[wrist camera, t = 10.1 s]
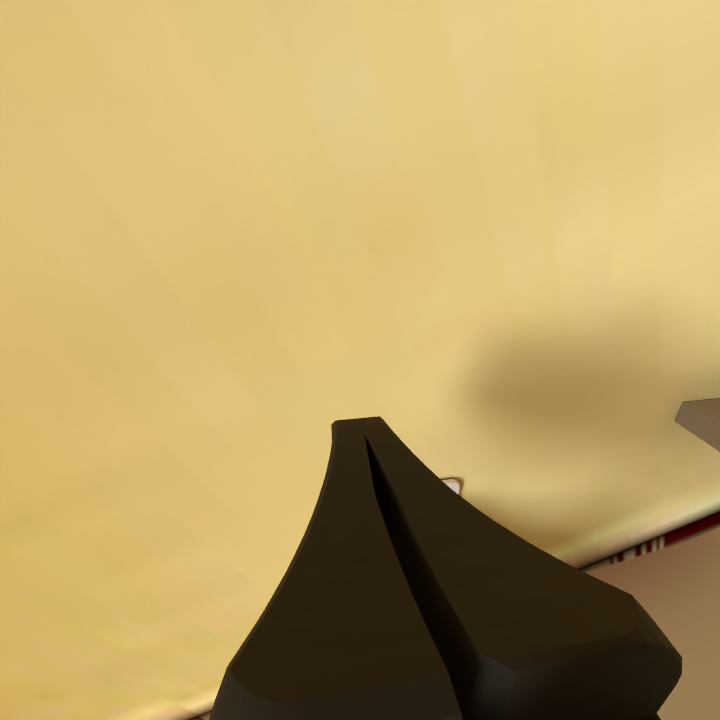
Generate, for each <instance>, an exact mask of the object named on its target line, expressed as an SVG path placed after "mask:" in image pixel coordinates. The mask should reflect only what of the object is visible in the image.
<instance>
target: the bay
mask: <svg viewBox="0 0 720 720" xmlns="http://www.w3.org/2000/svg"><path fill="white" fill-rule="evenodd" d="M675 422H677V423H678V424H680V425H681V426H683V427H684V428H686V429H687V430H689V431H690V432H692V433H693V434H695V435H696V436H698V437H699V438H700V439H702V440H703V441H705V442H706V443H708V444H709V445H711V446H712V447H714V448H715V449H717V450H718V451H720V398H718V399H709V400H699V401H689V402H683V403H682V406H681V408H680V410H679V413H678V415H677V417H676V419H675Z"/></svg>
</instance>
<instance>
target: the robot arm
mask: <svg viewBox="0 0 720 720" xmlns="http://www.w3.org/2000/svg"><path fill="white" fill-rule="evenodd" d="M331 426H332V446H331V453H330V458H329V462H328V467H327V471H326V475H325V479H324V482H323V485H322V488H321V492H320V495H319V498H318V501H317V504H316V507H315V509H314V512H313V515H312V517H311V520H310V522H309V525H308V527H307V529H306V532H305V534H304V536H303V538H302V540H301V543H300V545H299V547H298V549H297V551H296V553H295V555H294V557H293V559H292V561H291V563H290V565H289V567H288V569H287V571H286V573H285V575H284V577H283V578H282V580H281V582H280V584H279V585H278V587H277V589H276V591H275V592H274V594H273V596H272V598H271V599H270V601H269V603H268V605H267V606H266V608H265V610H264V611H263V613H262V615H261V616H260V618H259V620H258V621H257V623H256V624H255V626H254V627H253V629H252V630H251V632H250V633H249V635H248V636H247V638H246V639H245V641H244V642H243V644H242V645H241V647H240V648H239V650H238V651H237V653H236V654H235V656H234V657H233V659H232V660H231V662H230V663H229V665H228V667H227V669H226V672H225V675H224V677H223V680H222V683H221V686H220V688H219V691H218V694H217V697H216V699H215V702H214V705H213V709H212V712H211V715H210V718H209V720H661V719H660V718H659V716H658V715H657V711H658V710H659V709H660V707H661V706H662V704H663V703H664V702H665V700H666V699H667V697H668V696H669V694H670V693H671V692H672V690H673V689H674V687H675V686H676V684H677V682H678V680H679V678H680V676H681V674H682V657H681V656H680V654H679V653H678V652H677V650H676V649H675V648H674V646H673V645H672V644H671V642H670V641H669V640H668V639H667V637H666V636H665V635H664V633H663V632H662V631H661V629H660V628H659V627H658V626H657V624H656V623H655V622H654V620H653V619H652V618H651V617H650V616H649V614H648V613H647V612H646V611H645V610H644V609H643V607H642V606H641V605H640V604H639V603H638V602H637V600H635V598H634V597H633V596H632V595H631V594H629V593H627V592H624V591H622V590H620V589H618V588H616V587H614V586H612V585H610V584H608V583H605V582H603V581H601V580H599V579H597V578H595V577H593V576H590V575H589V574H586V573H584V572H582V571H580V570H578V569H576V568H574V567H572V566H570V565H568V564H566V563H564V562H563V561H561V560H559V559H557V558H555V557H553V556H552V555H550V554H548V553H546V552H544V551H542V550H540V549H539V548H537V547H535V546H534V545H532V544H530V543H528V542H527V541H525V540H523V539H522V538H520V537H518V536H517V535H515V534H514V533H512V532H511V531H509V530H507V529H506V528H504V527H503V526H501V525H500V524H498V523H496V522H495V521H493V520H492V519H491V518H489V517H488V516H486V515H485V514H483V513H482V512H480V511H479V510H478V509H476V508H475V507H474V506H472V505H471V504H470V503H468V502H467V501H466V500H464V499H463V498H462V497H461V496H459V490H460V485H459V483H458V481H457V480H455V479H449V480H441V479H440V478H438V477H437V476H436V475H435V474H434V473H433V472H432V471H431V470H430V469H429V468H428V467H427V466H426V465H425V464H424V463H422V462H421V461H420V460H419V459H418V458H417V457H416V456H415V455H414V454H413V453H412V452H411V450H410V449H409V448H408V447H407V446H406V445H405V444H404V443H403V442H402V441H401V440H400V439H399V438H398V436H397V435H396V434H395V433H394V432H393V431H392V430H391V428H390V427H389V426H388V425H387V424H386V423H385V421H384V420H383V419H382V418H381V417H368V418H358V419H348V420H337V421H335V422H334V423H333V424H332V425H331Z"/></svg>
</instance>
